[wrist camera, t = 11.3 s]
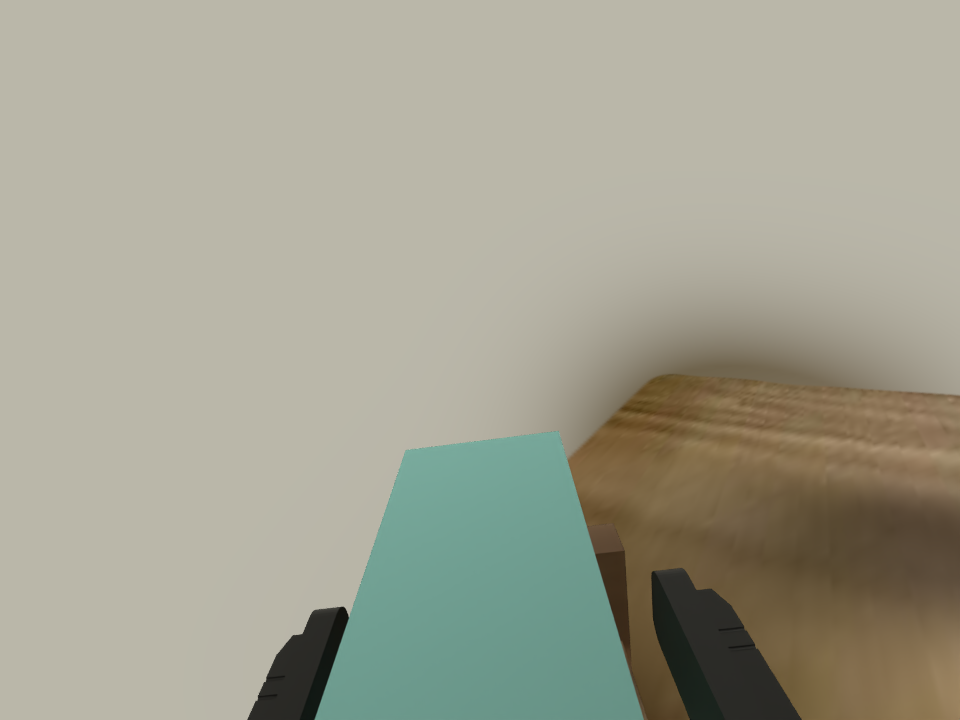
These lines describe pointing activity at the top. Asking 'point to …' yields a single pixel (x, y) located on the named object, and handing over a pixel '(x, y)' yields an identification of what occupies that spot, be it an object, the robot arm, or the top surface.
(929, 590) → the top surface
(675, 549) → the top surface
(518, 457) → the teal rectangular block
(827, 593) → the top surface
